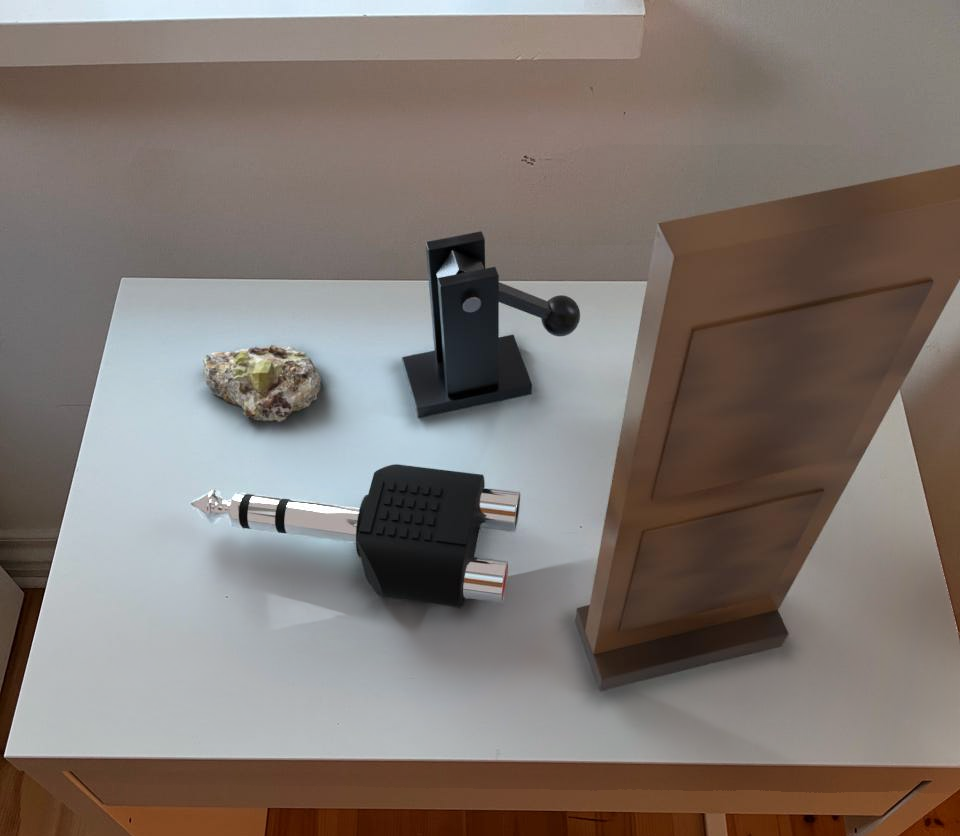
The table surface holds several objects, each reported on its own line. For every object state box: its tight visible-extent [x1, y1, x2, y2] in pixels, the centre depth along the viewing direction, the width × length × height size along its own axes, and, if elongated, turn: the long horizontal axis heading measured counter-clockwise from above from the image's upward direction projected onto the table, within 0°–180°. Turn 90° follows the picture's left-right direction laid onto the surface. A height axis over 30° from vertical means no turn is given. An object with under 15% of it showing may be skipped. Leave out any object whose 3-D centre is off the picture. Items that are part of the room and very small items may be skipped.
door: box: [574, 163, 960, 692], centre depth 52 cm, size 14×6×36 cm, turn 104°
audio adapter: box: [189, 463, 521, 609], centre depth 70 cm, size 11×5×25 cm
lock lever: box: [436, 250, 581, 337], centre depth 73 cm, size 13×3×3 cm
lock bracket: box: [401, 230, 533, 419], centre depth 74 cm, size 10×6×13 cm, turn 104°
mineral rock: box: [202, 344, 322, 423], centre depth 79 cm, size 11×4×8 cm
